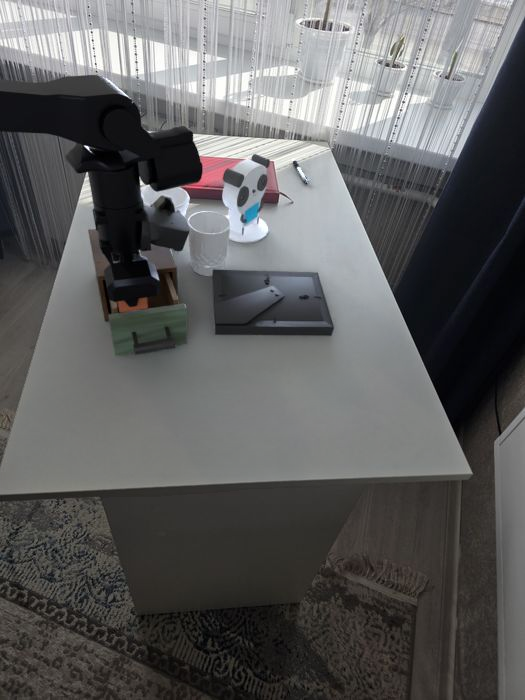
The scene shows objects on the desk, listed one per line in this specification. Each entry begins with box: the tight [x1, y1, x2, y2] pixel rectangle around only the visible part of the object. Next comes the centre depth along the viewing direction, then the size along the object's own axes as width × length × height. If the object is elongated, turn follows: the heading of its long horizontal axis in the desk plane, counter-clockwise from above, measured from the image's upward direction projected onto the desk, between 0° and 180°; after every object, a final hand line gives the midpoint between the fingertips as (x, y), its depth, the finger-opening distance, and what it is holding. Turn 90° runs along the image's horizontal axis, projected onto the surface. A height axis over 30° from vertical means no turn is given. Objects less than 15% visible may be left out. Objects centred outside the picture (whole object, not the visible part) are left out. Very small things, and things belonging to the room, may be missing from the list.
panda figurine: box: [222, 153, 271, 244], centre depth 99 cm, size 12×11×15 cm
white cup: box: [187, 210, 231, 277], centre depth 90 cm, size 8×8×10 cm
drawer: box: [108, 272, 188, 357], centre depth 75 cm, size 17×11×8 cm
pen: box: [292, 158, 309, 185], centre depth 126 cm, size 14×2×1 cm, turn 12°
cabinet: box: [87, 228, 179, 323], centre depth 82 cm, size 14×13×10 cm
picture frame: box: [211, 269, 335, 337], centre depth 86 cm, size 16×3×21 cm
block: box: [118, 297, 148, 312], centre depth 67 cm, size 4×4×4 cm
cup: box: [141, 185, 191, 218], centre depth 96 cm, size 10×10×9 cm
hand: (130, 296), depth 68 cm, fingers closed on block, 4 cm apart
